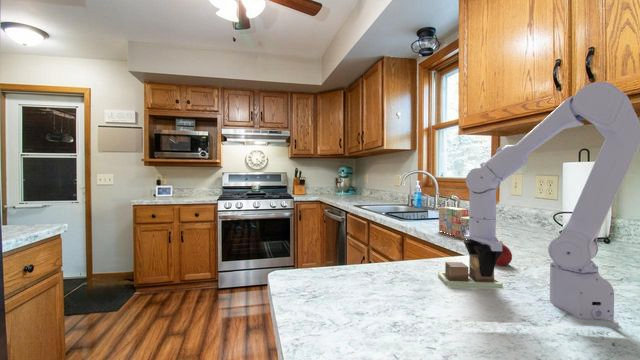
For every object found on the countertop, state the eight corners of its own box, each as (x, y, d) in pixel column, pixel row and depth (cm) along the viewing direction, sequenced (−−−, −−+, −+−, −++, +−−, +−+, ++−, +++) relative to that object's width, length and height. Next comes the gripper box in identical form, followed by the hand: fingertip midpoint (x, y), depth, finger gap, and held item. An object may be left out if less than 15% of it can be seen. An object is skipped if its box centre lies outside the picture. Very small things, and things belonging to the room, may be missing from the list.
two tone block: (494, 284, 69) (494, 259, 68) (476, 284, 69) (476, 259, 69) (485, 278, 72) (486, 254, 72) (469, 278, 73) (469, 254, 73)
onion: (515, 271, 81) (516, 243, 81) (493, 270, 82) (493, 242, 82) (506, 265, 87) (507, 239, 87) (485, 264, 88) (486, 238, 88)
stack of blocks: (484, 241, 119) (484, 211, 119) (471, 242, 118) (471, 212, 118) (449, 231, 140) (449, 206, 140) (438, 232, 139) (438, 206, 138)
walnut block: (468, 283, 69) (468, 267, 69) (451, 283, 69) (451, 266, 69) (461, 277, 73) (461, 262, 73) (445, 277, 73) (445, 261, 73)
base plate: (508, 295, 65) (508, 286, 65) (449, 293, 67) (449, 284, 66) (486, 279, 75) (486, 271, 75) (435, 277, 76) (435, 270, 76)
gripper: (454, 213, 78) (453, 263, 78) (479, 222, 64) (478, 283, 64) (481, 213, 77) (480, 264, 78) (512, 222, 63) (511, 284, 63)
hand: (481, 273), depth 71 cm, fingers closed on two tone block, 4 cm apart
